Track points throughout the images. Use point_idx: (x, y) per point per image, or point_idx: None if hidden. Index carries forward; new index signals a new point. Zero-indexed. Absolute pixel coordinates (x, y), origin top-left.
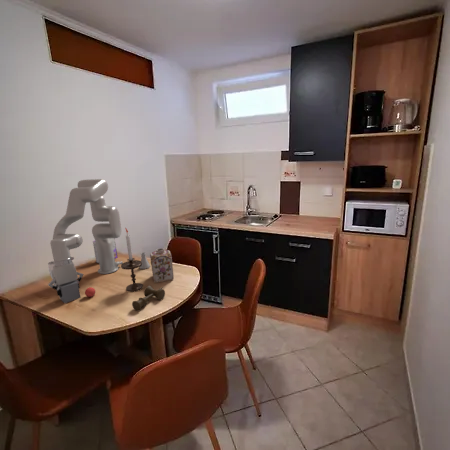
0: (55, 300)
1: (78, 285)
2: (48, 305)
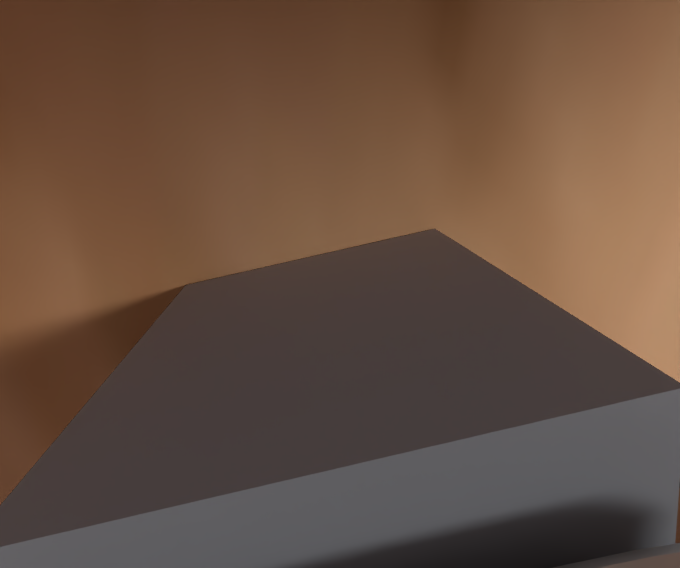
0: (118, 304)
1: None
2: (32, 415)
